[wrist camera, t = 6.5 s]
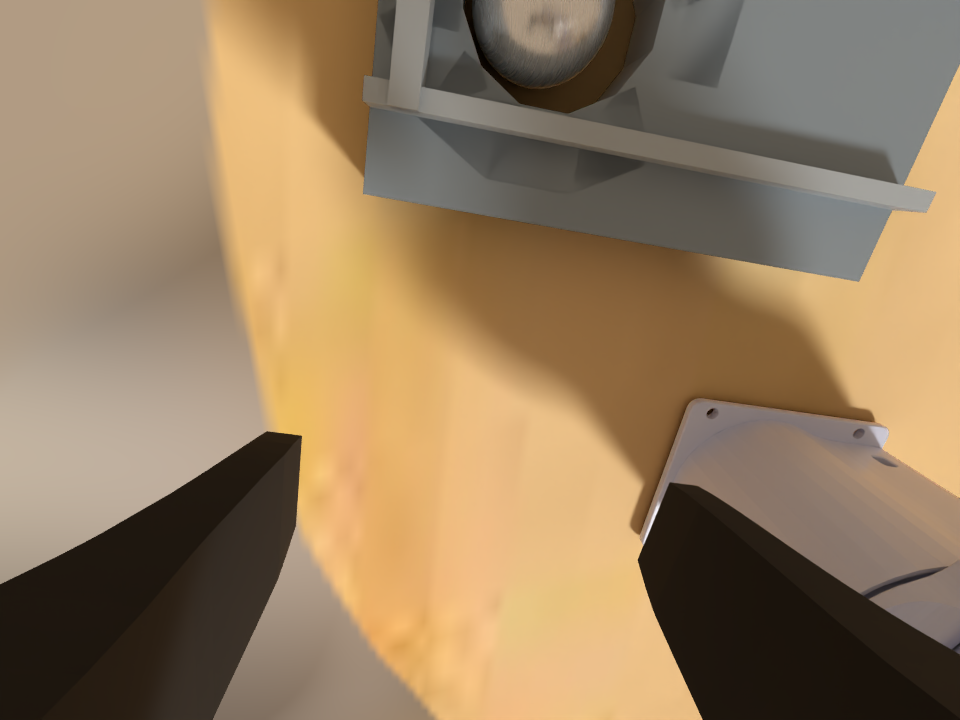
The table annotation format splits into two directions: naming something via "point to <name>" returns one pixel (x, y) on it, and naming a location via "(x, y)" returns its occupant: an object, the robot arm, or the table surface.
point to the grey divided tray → (679, 127)
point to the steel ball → (541, 37)
